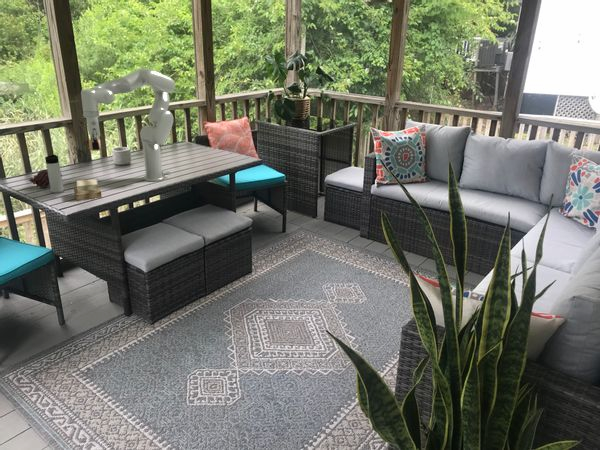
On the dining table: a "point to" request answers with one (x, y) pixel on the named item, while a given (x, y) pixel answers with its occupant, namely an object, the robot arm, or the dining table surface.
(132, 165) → the dining table surface
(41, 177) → the pine cone
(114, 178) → the dining table surface
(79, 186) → the maple top block
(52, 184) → the travel mug
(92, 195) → the oak base block
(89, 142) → the terracotta round block
